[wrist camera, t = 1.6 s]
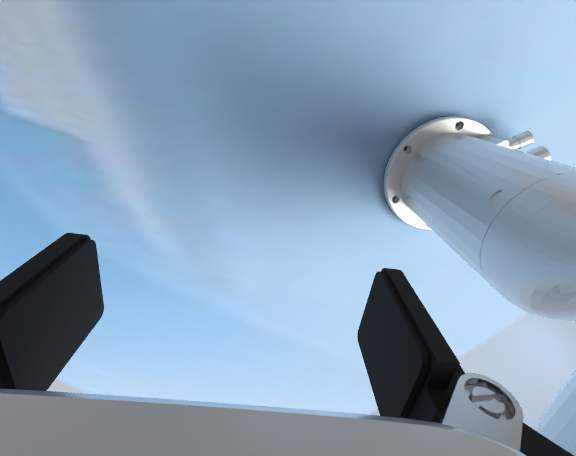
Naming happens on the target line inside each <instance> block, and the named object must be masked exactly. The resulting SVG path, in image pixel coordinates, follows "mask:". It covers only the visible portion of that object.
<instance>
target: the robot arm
mask: <svg viewBox="0 0 576 456" xmlns="http://www.w3.org/2000/svg"><path fill="white" fill-rule="evenodd" d="M456 123H457V125H456ZM455 125H456V126H455ZM533 141H534V138H533V135H532V134H531V132H529V131H525V132H522V133H520V134H518V135H516V136H513V137H512V138H510V139H508V140H503V139H499V138H496V137H494V135H493V134H492V132H491V131H490V130H489V129H488V128H487V127H485V126H484V125H483V124H481V123H479V122H477V121H475V120H472V119H468V118H464V117H457V116H450V117H441V118H437V119H434V120H431V121H428V122H426V123H424V124H422V125H420V126H419V127H417V128H416V129H414V130H413V131H411V132H410V133H409V134H408V135H407V136H406V137H405V138H404V139H403V140H402V141H401V142H400V143H399V144H398V146H397V147H396V148H395V150H394V151H393V153H392V155H391V157H390V159H389V161H388V164H387V167H386V170H385V175H384V193H385V197H386V200H387V203H388V204H389V206H390V208H391V210H392V211H393V212H394V213H395V214H396V216H397V217H399V218H400V219H401V220H402V221H403V222H405V223H406V224H408V225H410V226H412V227H416V228H419V229H425V230H433V231H434V232H435V233H436V234H437V235H438V236H439V237H440V238H441V239H442V240H443V241H444V242H445V243H446V244H448V245H449V246H450V247H451V248H452V249H453V250H454V251H455V252H456V253H457V254H458V255H459V256H460V257H461V258H462V259H463V260H464V261H466V262H467V263H468V264H469V265H470V266H471V267H472V268H473V269H474V270H475V271H476V272H477V273H478V274H479V275H480V276H481V277H483V278H484V279H485V280H486V281H487V282H488V283H489V284H490V285H491V286H492V287H494V288H495V289H496V290H497V291H498V292H499V293H500V294H501V295H502V296H503V297H504V298H506V299H507V300H508V301H510V302H511V303H512V304H514V305H516V306H517V307H519V308H520V309H523V310H525V311H527V312H529V313H532V314H534V315H537V316H541V317H545V318H549V319H554V320H561V321H572V322H576V168H574V167H571V166H568V165H564V164H561V163H558V162H554V161H551V156H550V153H549V151H548V150H547V149H546V148H545V147H543V146H539V147H536V148H534V149H532V150H530V151H527V152H525V153H524V152H521V151H518V150H516V149H520V148H523V147H525V146H527V145H529V144H532V143H533ZM405 146H406V149H405V150H404V147H405ZM394 196H395V197H394ZM393 197H394V198H393ZM103 311H104V304H103V296H102V288H101V280H100V273H99V265H98V257H97V249H96V243H95V241H94V240H91V239H90V237H89V236H88V235H83V234H74V233H66V234H64V235H63V236H62V237H60V238H59V239H57V240H56V241H55V242H53V243H52V244H51V245H49V246H48V247H46V248H45V249H44V250H42V251H41V252H39V253H38V254H37V255H35V256H34V257H33V258H31V259H30V260H28V261H27V262H26V263H24V264H23V265H22V266H20V267H19V268H17V269H16V270H15V271H13V272H12V273H11V274H9V275H8V276H6V277H5V278H4V279H2V280H1V281H0V456H576V371H575V372H574V373H573V374H572V376H571V377H570V378H569V380H568V381H567V382H566V384H565V385H564V386H563V387H562V389H561V390H560V391H559V392H558V394H557V395H556V396H555V397H554V399H553V400H552V401H551V403H550V404H549V405H548V406H547V408H546V409H545V410H544V412H543V414H542V415H541V416H540V418H539V419H538V420H537V422H536V423H535V425H534V426H533V428H531V427H529V426H527V425H526V424H524V423H523V413H522V409H521V407H520V405H519V403H518V401H517V400H516V399H515V398H514V396H513V395H512V394H511V393H510V392H509V391H508V390H506V389H505V388H504V387H503V386H502V385H500V384H499V383H497V382H496V381H494V380H492V379H490V378H488V377H486V376H484V375H480V374H476V373H467V374H465V373H464V371H463V369H462V368H461V366H460V365H459V364H460V363H459V361H458V359H457V358H456V356H455V355H454V353H453V351H452V350H451V348H450V347H449V345H448V344H447V342H446V340H445V339H444V337H443V336H442V334H441V333H440V331H439V329H438V328H437V326H436V325H435V323H434V321H433V320H432V318H431V317H430V315H429V314H428V312H427V310H426V309H425V307H424V306H423V304H422V302H421V301H420V299H419V298H418V296H417V295H416V293H415V291H414V290H413V288H412V287H411V285H410V283H409V282H408V280H407V279H406V277H405V276H404V274H403V272H402V271H401V270H397V269H388V268H383V269H382V270H381V272H377V273H376V275H375V278H374V281H373V284H372V287H371V291H370V294H369V297H368V300H367V304H366V307H365V310H364V313H363V317H362V320H361V323H360V326H359V330H358V343H359V346H360V349H361V353H362V356H363V359H364V363H365V366H366V369H367V373H368V376H369V379H370V383H371V386H372V390H373V393H374V396H375V400H376V403H377V406H378V410H379V413H380V416H375V415H365V414H355V413H343V412H330V411H317V410H305V409H292V408H279V407H266V406H253V405H239V404H226V403H212V402H198V401H184V400H170V399H156V398H142V397H127V396H112V395H97V394H82V393H67V392H52V391H47V389H48V388H49V387H50V385H51V384H52V383H53V381H54V380H55V379H56V377H57V376H58V375H59V373H60V372H61V371H62V369H63V368H64V367H65V365H66V364H67V362H68V361H69V360H70V358H71V357H72V356H73V354H74V353H75V352H76V350H77V349H78V348H79V346H80V345H81V344H82V342H83V341H84V340H85V338H86V337H87V336H88V334H89V333H90V332H91V330H92V329H93V328H94V326H95V325H96V324H97V322H98V321H99V320H100V318H101V317H102V314H103Z"/></svg>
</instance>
